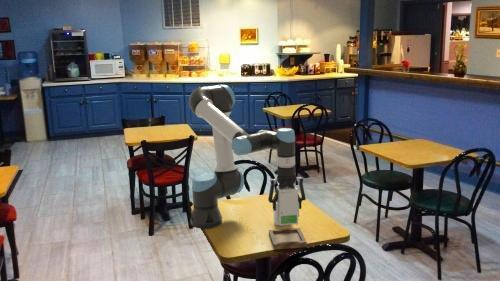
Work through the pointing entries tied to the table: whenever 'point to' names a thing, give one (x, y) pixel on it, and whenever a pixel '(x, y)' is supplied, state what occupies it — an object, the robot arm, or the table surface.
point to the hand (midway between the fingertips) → (287, 216)
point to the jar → (276, 219)
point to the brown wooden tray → (287, 238)
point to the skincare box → (287, 206)
